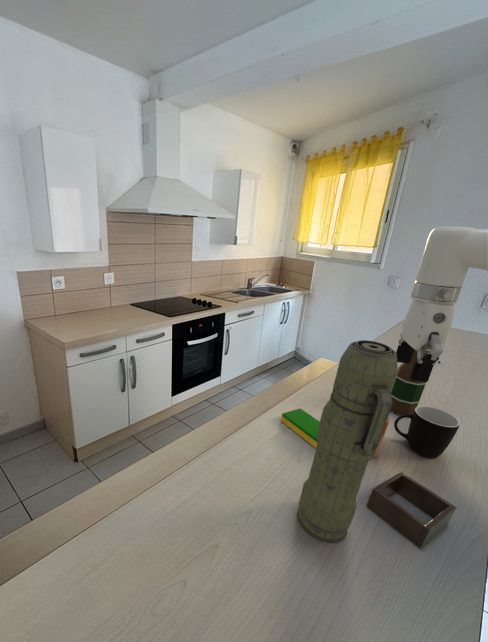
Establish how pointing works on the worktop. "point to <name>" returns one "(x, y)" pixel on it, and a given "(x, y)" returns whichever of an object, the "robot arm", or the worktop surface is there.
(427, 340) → the robot arm
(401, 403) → the beer bottle
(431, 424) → the mug
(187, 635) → the worktop surface
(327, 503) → the thermos
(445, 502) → the brown rectangular open box
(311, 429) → the dish sponge
